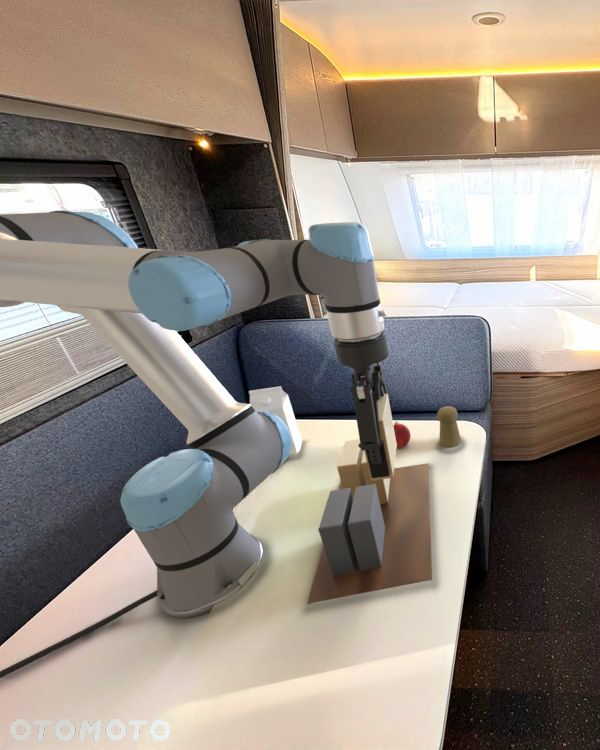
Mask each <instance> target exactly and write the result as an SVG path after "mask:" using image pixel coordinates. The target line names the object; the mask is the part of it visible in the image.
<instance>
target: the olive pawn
mask: <svg viewBox="0 0 600 750" xmlns="http://www.w3.org/2000/svg"><path fill="white" fill-rule="evenodd" d="M436 417H437V420H438V422H439V442H438V443H439V445H440V446H441V447H442V448H445V449H452V448H456V447H458V446H459V445H460V444H461V443H462V438H461V434H460V430H459V427H458V422H457V420H458V417H459V413H458V410H457V409H456V408H455V407H454V406H450V405H449V406H443V407H441V408H440V409H438V411H437V413H436Z"/></svg>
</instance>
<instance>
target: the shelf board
mask: <svg viewBox="0 0 600 750" xmlns="http://www.w3.org/2000/svg"><path fill="white" fill-rule="evenodd" d="M393 476H394V477H393V478H390V485H389V495H388V503H384V504H380V506H381V511H382V515H383V520H384V525H385V534H384V544H383V554H382V564H381V565H382V567H380V568H374V569H369V570H364V571H360V568H359V565H358V561H357V560H356V566H355V572H353V573H347V574H342V575H336V576H333V574H332V571H331V568H330V564H329V561H328V558H327V555H326V552H325V549H324V546H323V545H322V548H321V552H320V555H319V560H318V563H317V566H316V569H315V574H314V578H313V581H312V583H311V584H312V585H311V589H310V593H309V596H308V600H307V605H308V604H314V603H319V602H325V601H329V600H335V599H339V598H345V597H350V596H354V595H360V594H361V595H362V594H365V593H370V592H376V591H381V590H387V589H392V588H396V587H401V586H407V585H412V584H417V583H418V584H419V583H423V582H428V581H433V567H432V566H433V565H432V562H433V561H432V536H431V533H432V532H431V509H430V508H431V506H430V481H429V479H430V478H429V477H430V476H429V463H423V464H422V463H420V464H415V465H408V466H401V467H394V474H393ZM339 489H343V487H342V483H341V482H339V486H338V490H339Z"/></svg>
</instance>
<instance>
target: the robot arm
mask: <svg viewBox="0 0 600 750" xmlns="http://www.w3.org/2000/svg"><path fill="white" fill-rule="evenodd" d="M307 234H308V239H270V238H261V239H253V240H247V241H246V240H245V241H242V242H240V243H238V245H236V246H235V245H234V246H228V247H222V248H215V249H210V250H201V251H181V250H165V249H153V248H140V247H138V245H137V244H136V242H135V241H134V239H133V238H132V237H131V235H129V234H128V233H127V232H126V231H125V229H123V228H122V227H121V226H119V225H118V224H117V223H115V222H114V221H112V220H111V219H109V218H107V217H104V216H102V215H100V214H96V213H94V212H88V211H70V210H63V209H62V210H52V211H49V212H27V213H0V308H10V307H15V306H19V305H23V304H24V303H31V304H41V305H51V306H57V307H58V308H59V309H60V310H61V311H63V312H67V313H70V314H77V315H80V316H82V317H83V318H84V319H85V320H86V321H87V322H88V323H89V325H90V326H92V328H93V329H94V330H95V331H96V332H97V333H98V335H100V336H101V337H102V339H103V340H104V341H105V342H106V343H107V344H108V345H109V346H110V347H111V348H112V349H113V351H115V353H116V354H117V355H118V356H119V357H120V358H121V359H122V360H123V361H124V362H125V364H127V366H128V367H130V369H131V370H132V371H133V372H134V373H135V374H136V376H137V377H138V378H139V379H140V380H141V381H142V382H143V383H144V384H145V385H146V386H147V388H148V389H150V391H151V392H152V393H153V394H154V395H155V396H156V397H157V398H158V399H159V400H160V401H161V402H162V403H163V405H164V406H165V407H166V408H167V409H168V410H169V411H170V412H171V413H172V415H174V416H175V418H176V419H177V420H178V421H179V423H181V424H182V425H183V426H184V427H185V428H186V430H187V432H188V433H187V438H186V445H187V446H188V447H189V448H187V449H180V450H177V451H173V452H170V453H169V454H168V455H167V456H163V455H162V456H160V457H158V458H156V459H154V460H152V461H150V462H149V463H147V464H146V465H145V466H143V467H141V468H140V469H139V470H138V471H137V472H135V473H134V474H133V475H132V476H131V477H130V478H129V479H128V480H127V481H126V483H125V485H124V487H123V488H122V491H121V496H120V505H121V508H122V510H123V513H124V515H125V519H126V522H127V524H128V526H129V527H130V528H132V529H133V531H134V533H135V534H136V536H137V537H138V539H139V541H140V542H141V544H142V545H143V547H144V549H145V550H146V552H147V553H148V556H149V557H150V558H151V560H152V562H153V563H154V565H155V567H156V590H154V591H153V592H149V593H148V594H147V595H145V596H143V597H141V598H139V599H137V600H136V601H134V602H132V603H130V604H128V605H127V606H125V607H123V608H120V609H119V610H118V611H116V612H114V613H112V614H110V615H109V616H107V617H105V618H103V619H101V620H99V621H98V622H95V623H94V624H92V625H90V626H87V627H86V628H84V629H82V630H80V631H78V632H76V633H74V634H72V635H70V636H68V637H65V638H64V639H62V640H60V641H57V642H56V643H54V644H52V645H50V646H48V647H46V648H44V649H42V650H40V651H38V652H36V653H34V654H32V655H30V656H28V657H26V658H24V659H21V660H19V661H18V662H15V663H14V664H12V665H10V666H8V667H6V668H4V669H1V670H0V679H2V678H4V677H6V676H8V675H10V674H12V673H14V672H16V671H18V670H20V669H22V668H24V667H26V666H28V665H30V664H31V663H33V662H35V661H37V660H39V659H42V658H44V657H45V656H48V655H49V654H52V653H54V652H55V651H57V650H59V649H61V648H63V647H65V646H67V645H69V644H72V643H74V642H75V641H77V640H79V639H81V638H82V637H84V636H87V635H88V634H90V633H93V632H94V631H97V630H98V629H100V628H102V627H104V626H106V625H108V624H110V623H111V622H113V621H115V620H117V619H119V617H122V616H123V615H126V614H127V613H129V612H131V611H133V610H134V609H136V608H137V607H140V606H141V605H143V604H145V603H147V602H149V601H150V600H152V599H154V598H156V597H157V601H158V603H159V604H160V606H161V608H162V610H163V611H164V612H165V613H166V614H167V615H169V616H171V617H174V618H180V619H184V618H186V619H187V618H193V617H198V616H201V615H205V614H207V613H210V612H212V610H213V608H214V607H215V606H216V605H217V604H219V603H220V604H221V603H222V602H223V601H225V600H227V599H228V598H230V597H231V596H233V595H234V594H236V593H237V592H238V591H240V590H241V589H242V588H243V587H244V586H245V585H246V584H247V583H248V582H249V581H250V580H251V579H252V577H253V576H254V575H255V573H256V572H257V571H258V569H259V567H260V566H261V563H262V561H263V556H264V549H263V546H262V543H261V542H260V541H259V539H258V538H257V537H255V536H254V535H253V534H250V533H249V531H247V530H246V529H245V528H244V527H243V526H242V525H240V524H239V522H238V520H237V517H236V515H235V512H234V509H235V507H237V506H238V505H239V504H240V503H241V502H242V501H243V500H245V498H247V497H248V496H249V495H250V494H251V493H252V492H253V491H254V490H255V489H256V488H258V487H259V486H260V485H261V484H262V483H263V482H264V481H265V480H266V479H268V478H269V477H270V476H271V475H272V474H275V473H276V472H277V471H278V470H279V468H280V467H281V465H282V464H283V463H284V462H286V461H287V460H288V459H289V457H290V456H291V455H290V452H291V446H292V439H291V435H290V432H289V430H288V428H287V426H286V425H285V423H284V422H283V421H282V420H281V419H280V418H279V417H278V416H276V415H275V414H272V415H271V413H270V412H268V411H264V410H260V411H255V409H254V408H253V407H252V406H251V405H250V403H244V402H238V401H237V400H235V399H234V397H233V396H232V395H231V394H230V393H229V392H228V390H227V389H226V388H225V386H224V385H222V384H221V382H220V380H218V379H217V378H216V376H215V374H213V373H212V372H211V370H210V369H209V368H208V367H207V365H205V363H204V362H203V361H202V360H201V359H200V357H199V356H198V355H197V354H196V353H195V352H194V350H193V349H192V348H191V347H190V346H189V345H188V343H186V341H185V340H184V338H182V336H181V335H180V334H179V333H178V332H184V331H188V330H191V329H195V328H200V327H201V328H203V327H207V326H210V325H213V324H215V323H217V322H219V321H221V320H224V319H226V318H229V317H232V316H235V315H237V314H240V313H243V312H246V311H249V310H251V309H255V308H256V307H260V306H263V305H265V304H269V303H271V302H275V301H276V300H280V299H282V298H285V297H286V298H287V297H289V296H303V295H304V296H305V295H306V296H320V295H321V296H322V298H323V303H324V306H325V312H326V316H327V321H328V326H329V330H330V334H331V336H332V337H333V338H334V339H333V346H334V350H335V355H336V360H337V362H338V363H339V365H342V366H344V367H349V368H351V369H353V373H352V374H351V383H352V385H353V386H352V385H351V386H350V393H351V396H352V400H353V404H354V412H355V418H356V425H357V431H358V437H359V438H358V439H360V444H358V446H359V448H361V450H362V451H363V450H366V454H367V458H368V463H369V467H370V472H371V476H372V478H379V477H386V476H389V474H390V473H389V468H388V462H387V457H386V452H385V447H384V442H383V440H382V439H381V433H380V426H379V412H378V400H379V399H380V396H384V394H388V398H390V395H389V393H388V388H387V384H386V380H385V374H384V370H383V366H382V362H383V361H385V360H386V359H387V358H388V357H389V355H390V350H389V343H388V338H387V337H388V336H387V333H386V332H384V330H385V322H384V317H386V316H387V315H388V314H387V313H388V312H387V311H386V310H385V309H381V308H382V305H381V299H380V295H379V293H380V292H379V288H378V286H379V285H378V279H377V273H376V265H375V254H374V253H373V248H372V245H371V241H370V235H369V232H368V229H367V227H366V226H365V225H364V224H362V223H360V222H356V221H355V222H354V221H351V222H350V221H346V222H345V221H344V222H325V223H316V224H312V225H310V226H309V227H308V229H307ZM389 404H390V408H393V400H389ZM289 455H290V456H289ZM288 456H289V457H288ZM287 458H288V459H287Z"/></svg>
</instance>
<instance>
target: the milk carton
mask: <svg viewBox="0 0 600 750" xmlns="http://www.w3.org/2000/svg"><path fill="white" fill-rule="evenodd" d="M248 394H249V404H250V405H251V406H252V407H253V408H254V409H255V411H260V410H264V411H268V412H270V413H271V415H272V414H275V415H276V416H278V417H279V418H280V419H281V420H282V421H283V422H284V423H285V425H286V426H287V428H288V430H289V432H290V435H291V439H292V446H291V452H290V455H289V456H288V458H287V459H286V460H288V459H289V457H290V456H293V455H298V454H299V452H301V448H302V444H303V440H302V437H301V433H300V429H299V426H298V423H297V420H296V417H295V416H296V415H295V414H294V410H293V406H292V403H291V400H290V397H289V393H287V392H285V391H284V390H283V388H282V386H281V385H280V386H274V387H267V388H260V389H255V390H254V389H253V390H249V391H248Z"/></svg>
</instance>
